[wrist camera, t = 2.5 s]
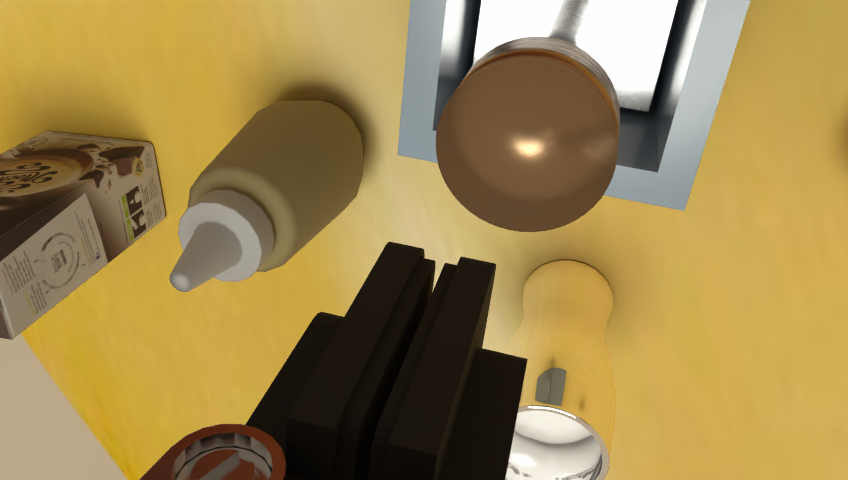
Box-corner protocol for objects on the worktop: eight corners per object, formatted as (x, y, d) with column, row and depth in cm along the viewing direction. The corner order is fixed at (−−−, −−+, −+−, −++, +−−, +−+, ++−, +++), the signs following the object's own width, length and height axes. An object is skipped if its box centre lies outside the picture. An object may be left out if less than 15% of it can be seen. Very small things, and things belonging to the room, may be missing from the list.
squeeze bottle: (376, 206, 51) (263, 369, 35) (266, 183, 52) (112, 330, 37) (384, 93, 47) (260, 223, 31) (265, 72, 48) (91, 186, 33)
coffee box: (153, 138, 53) (-17, 247, 39) (168, 218, 56) (15, 345, 42) (43, 127, 55) (-156, 227, 41) (64, 205, 58) (-115, 321, 44)
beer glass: (503, 265, 50) (457, 412, 38) (604, 243, 48) (591, 394, 35) (534, 346, 53) (501, 510, 40) (631, 330, 50) (629, 500, 38)
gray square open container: (735, -139, 36) (788, -120, 23) (658, 140, 44) (666, 269, 31) (495, -167, 38) (424, -163, 25) (460, 105, 46) (392, 212, 33)
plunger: (698, -87, 30) (761, 1, 15) (648, 106, 35) (655, 328, 19) (499, -113, 32) (368, -57, 16) (474, 75, 36) (351, 261, 21)
